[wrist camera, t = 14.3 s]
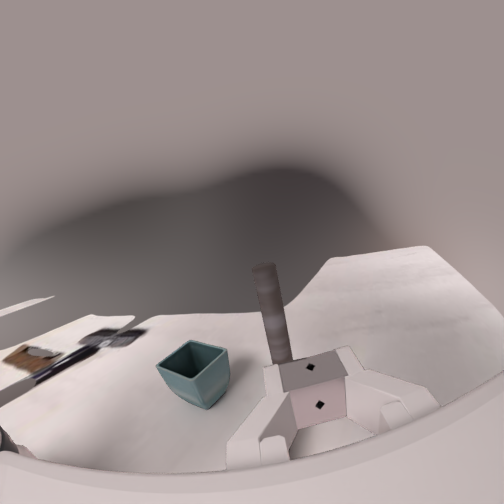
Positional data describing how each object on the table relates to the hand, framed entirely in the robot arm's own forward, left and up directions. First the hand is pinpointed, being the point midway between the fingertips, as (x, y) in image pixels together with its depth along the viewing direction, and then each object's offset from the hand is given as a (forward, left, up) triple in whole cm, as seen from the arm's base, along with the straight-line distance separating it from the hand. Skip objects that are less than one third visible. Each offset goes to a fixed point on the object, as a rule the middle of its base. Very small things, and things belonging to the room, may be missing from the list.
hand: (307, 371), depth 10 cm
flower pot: (-15, +31, -28) cm, 44 cm away
